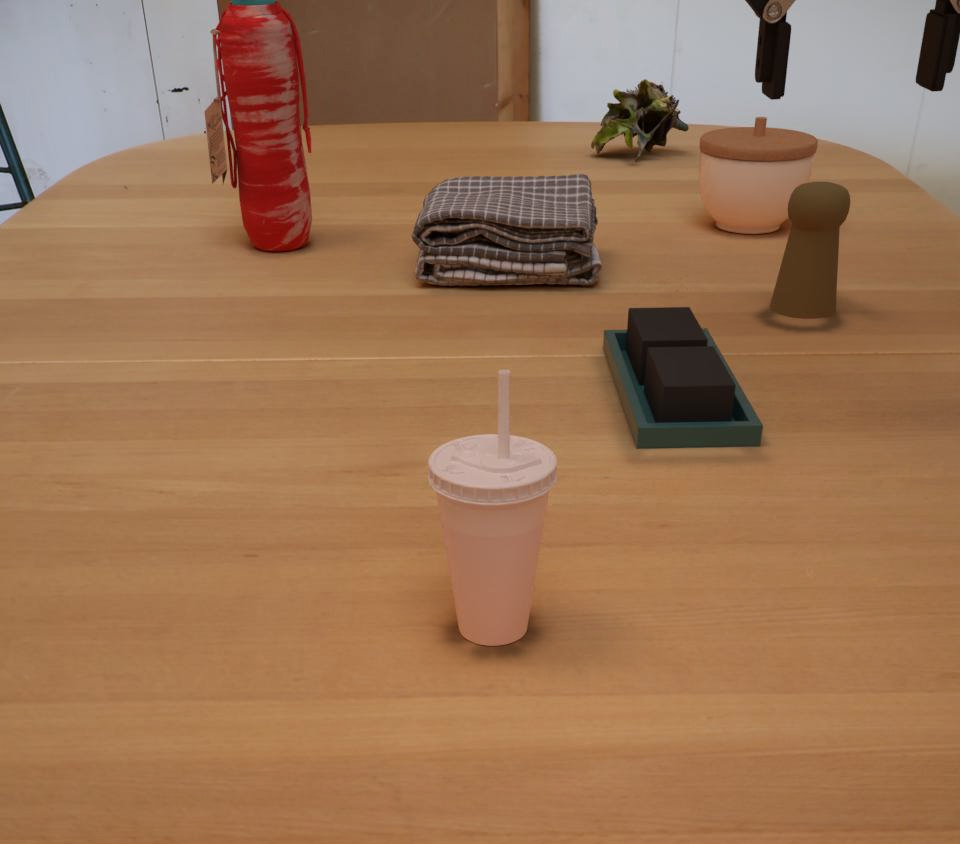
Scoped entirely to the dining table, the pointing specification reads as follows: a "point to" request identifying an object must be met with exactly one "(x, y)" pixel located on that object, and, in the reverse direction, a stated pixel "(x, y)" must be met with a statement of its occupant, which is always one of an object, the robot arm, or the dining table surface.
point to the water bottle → (262, 122)
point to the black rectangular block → (688, 385)
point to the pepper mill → (811, 252)
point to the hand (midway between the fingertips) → (850, 91)
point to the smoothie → (493, 523)
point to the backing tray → (681, 434)
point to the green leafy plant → (640, 117)
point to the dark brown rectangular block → (660, 333)
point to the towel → (508, 231)
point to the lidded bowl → (753, 175)
